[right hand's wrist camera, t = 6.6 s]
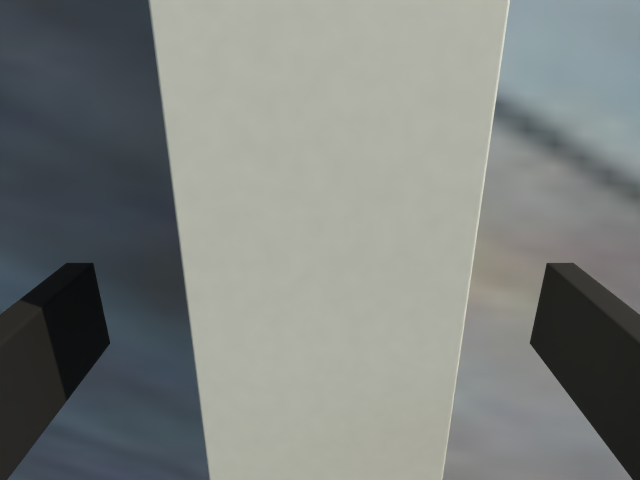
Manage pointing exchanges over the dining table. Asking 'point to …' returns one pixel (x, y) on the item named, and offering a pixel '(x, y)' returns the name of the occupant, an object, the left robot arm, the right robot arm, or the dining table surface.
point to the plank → (327, 222)
